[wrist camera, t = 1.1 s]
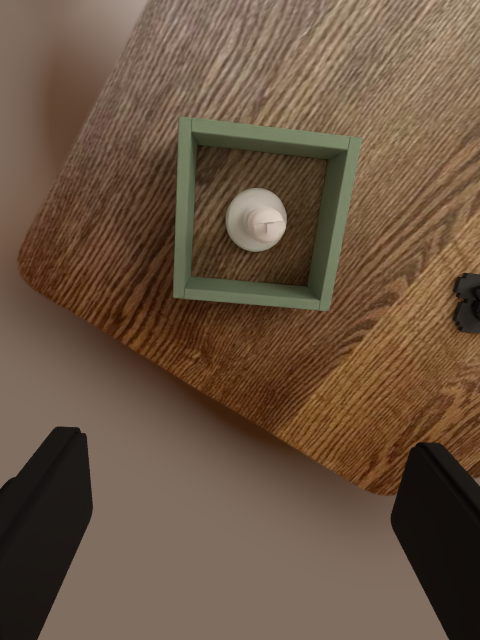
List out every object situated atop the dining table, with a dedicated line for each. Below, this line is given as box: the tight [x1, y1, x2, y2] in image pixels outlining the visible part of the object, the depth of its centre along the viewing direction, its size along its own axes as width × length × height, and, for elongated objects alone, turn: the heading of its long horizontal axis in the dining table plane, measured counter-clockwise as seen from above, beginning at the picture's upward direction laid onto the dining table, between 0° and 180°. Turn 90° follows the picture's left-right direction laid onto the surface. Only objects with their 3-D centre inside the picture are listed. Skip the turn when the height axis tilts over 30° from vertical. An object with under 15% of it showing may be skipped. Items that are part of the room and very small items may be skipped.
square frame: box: [173, 116, 362, 311], centre depth 24 cm, size 12×12×4 cm
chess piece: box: [226, 188, 287, 252], centre depth 22 cm, size 5×5×10 cm
